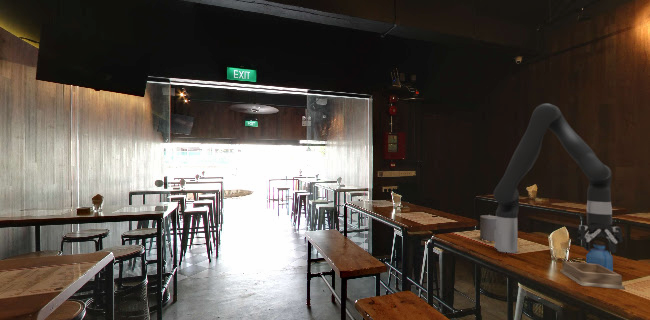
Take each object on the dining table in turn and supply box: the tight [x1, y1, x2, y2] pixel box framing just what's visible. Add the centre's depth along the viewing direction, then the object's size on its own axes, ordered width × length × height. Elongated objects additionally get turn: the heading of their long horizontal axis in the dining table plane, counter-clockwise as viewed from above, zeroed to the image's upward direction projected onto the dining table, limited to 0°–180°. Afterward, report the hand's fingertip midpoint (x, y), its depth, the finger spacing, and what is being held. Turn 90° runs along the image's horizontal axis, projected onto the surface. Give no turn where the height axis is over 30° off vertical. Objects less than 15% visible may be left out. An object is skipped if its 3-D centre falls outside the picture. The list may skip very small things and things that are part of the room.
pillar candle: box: [479, 214, 496, 241], centre depth 162 cm, size 10×10×15 cm
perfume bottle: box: [585, 240, 614, 272], centre depth 117 cm, size 6×6×12 cm
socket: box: [560, 261, 626, 290], centre depth 107 cm, size 13×13×4 cm
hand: (599, 251), depth 117 cm, fingers open, 8 cm apart
